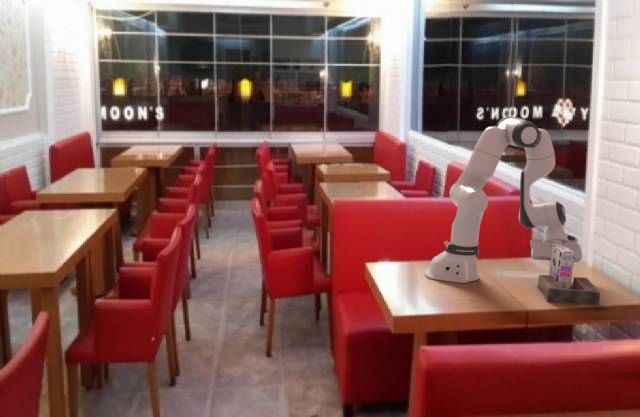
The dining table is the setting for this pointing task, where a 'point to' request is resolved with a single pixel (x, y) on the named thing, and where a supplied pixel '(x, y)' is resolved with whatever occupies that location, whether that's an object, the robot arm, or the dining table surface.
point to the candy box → (562, 265)
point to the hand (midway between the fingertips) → (557, 269)
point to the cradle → (569, 291)
